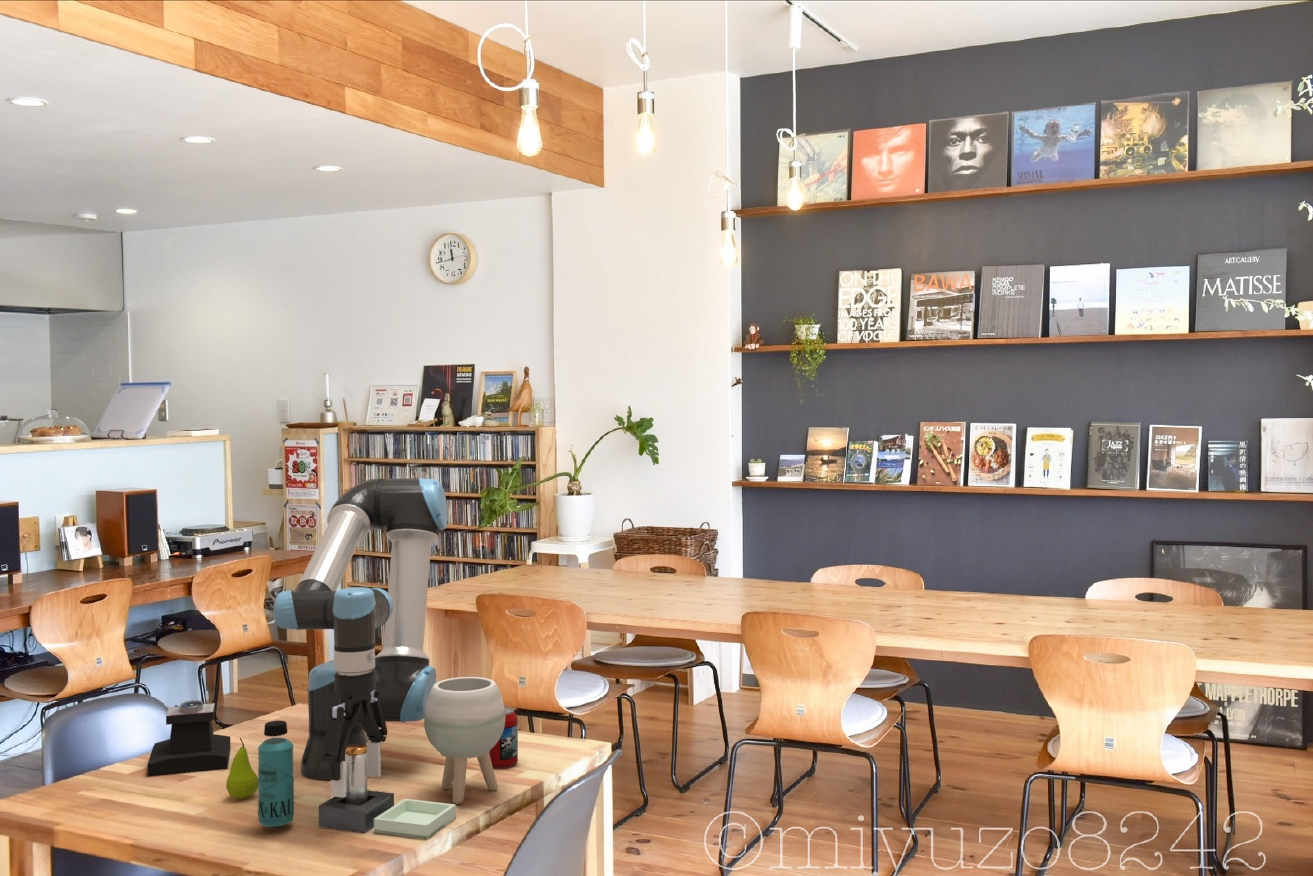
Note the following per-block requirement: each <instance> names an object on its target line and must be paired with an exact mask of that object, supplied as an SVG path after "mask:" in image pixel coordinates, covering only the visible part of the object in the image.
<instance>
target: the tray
mask: <svg viewBox="0 0 1313 876" xmlns="http://www.w3.org/2000/svg"><path fill="white" fill-rule="evenodd" d="M456 819H457V804H455V803H446V802H437V801H429V800H428V801H427V800H418V799H410V798H404V799H402V800H401V801H399V802H397V803H396V804H394V806H393V807H391V808H390V809H388V810H387V811H385V812H384V813H382V814H381V815H379V816H377V817H376V818H374V828H373V833H374V834H378V835H379V834H381V835H388V836H394V837H395V836H397V837H403V838H412V839H418V840H419V839H421V840H427V841H428V840H429V839H430V838H432V836H434V835H435V834H437V833H438V832H440V831H441V830H442V829H444V828H445V827H447V826H448V825H449V824H450V823H452V822H453V821H454V820H456Z"/></svg>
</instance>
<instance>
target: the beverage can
mask: <svg viewBox="0 0 1313 876" xmlns="http://www.w3.org/2000/svg"><path fill="white" fill-rule="evenodd" d="M504 708H505V726H504V730H503V733H502V735H501V737H500V739H499V741H498V742H497V743H496V745H495V746H494V747H493V748H492V749H491V750H490V751H489V755H490V759H491V763H492V767H493V768H494V769H495V768H496V769H506V768H507V767H508V768H511V767H513V766H514V765H515V764H516V763H517V762H518V760H519V759H518V757H519V754H518V753H519V746H518V742H519V741H518V740H519V737H518V735H519V733H518V729H519V728H518V727H519V726H518V715H517V714H516V712H515V709H514V708H512V707H508V706H504ZM512 765H513V766H512ZM510 766H511V767H510Z"/></svg>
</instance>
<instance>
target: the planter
mask: <svg viewBox="0 0 1313 876" xmlns="http://www.w3.org/2000/svg"><path fill="white" fill-rule="evenodd" d="M504 707H505V704H504V698H503V695H502V693H501V689H500V688H499V687H498V684H497V683H496V682H495V680H493V679H490V678H487V677H479V676H461V677H452V678H447V679H443V680H440V681H436V683H435V684H434V685H433V687H432V689H431V691H430V693H429V696H428V699H427V702H426V707H425V714H424V719H423V721H424V723H423V727H424V732H425V735H426V738H427V739H428V741H429V743H430V744H431V746H432V747H433V748H434V749H435V750H436V751H437V752H438V753H440V755H441V756H442V757H445V763H444V769H443V774H442V779H441V788H442V789H444V790H449V789H451V787H452V804H455V805H461V804H462V803H463V802H464V799H465V789H466V787H465V786H466V777H467V766H468V759H473V758H474V759H475V758H477V762H478V764H479V768H480V771H481V774H482V776H483V779H484V782H485V786H486V788H487V789H488V790H489V791H496V790H497V789H498V782H497V778H496V774H495V770H494V767H492V763H491V759H490V755H489V751H490V750H491V749H492V748H493V747H494V746H495V745H496V743H497V742H498V741H499V739H500V737H501V735H502V733H503V730H504V726H505V708H504Z"/></svg>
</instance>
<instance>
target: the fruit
mask: <svg viewBox="0 0 1313 876" xmlns="http://www.w3.org/2000/svg"><path fill="white" fill-rule="evenodd" d="M239 740H240V742H241V745H242V746H241V747H240V748H239V749H238V751H237V752H236V754H235V755H234V757H233V759H232V761H231V766H230V770H229V774H228V776H227V779H226V790H227V792H228V794H229V796H230V797H231V798H233V799H235V800H239V801H240V800H244V799H248V798H250V797H251V796H253V795H254V794H255V793H256V792H258V777H257V776H258V775H257V773H256V772H255V771H254V769H253V768H252V766H251V765H252V764H251V763H250V760H249V755H248V751H247V748H246V747H245V744H244V741H243V739H242V738H241V737H239Z"/></svg>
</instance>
